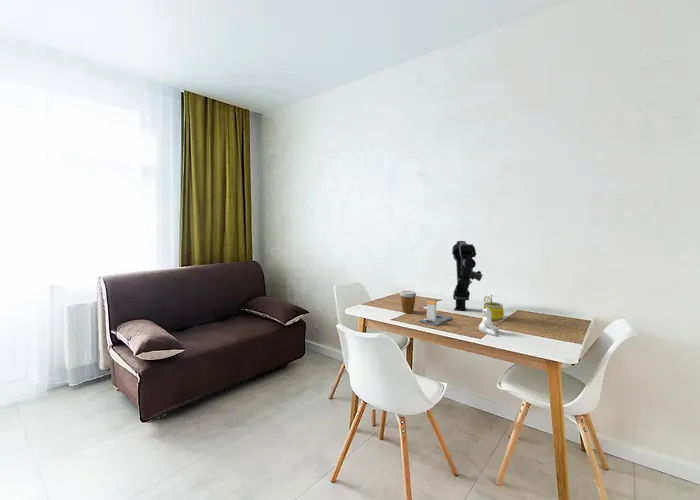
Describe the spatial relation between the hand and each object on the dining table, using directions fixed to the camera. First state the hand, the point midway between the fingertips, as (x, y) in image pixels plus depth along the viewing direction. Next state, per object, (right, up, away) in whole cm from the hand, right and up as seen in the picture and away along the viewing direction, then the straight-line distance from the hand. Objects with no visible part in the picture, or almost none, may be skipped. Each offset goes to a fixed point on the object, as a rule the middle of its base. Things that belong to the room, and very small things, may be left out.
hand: (465, 294), depth 191 cm
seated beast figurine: (+2, -16, -26) cm, 30 cm away
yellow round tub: (+15, -13, -1) cm, 20 cm away
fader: (-22, -13, -10) cm, 27 cm away
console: (-18, -14, -6) cm, 24 cm away
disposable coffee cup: (-31, -12, +11) cm, 35 cm away
